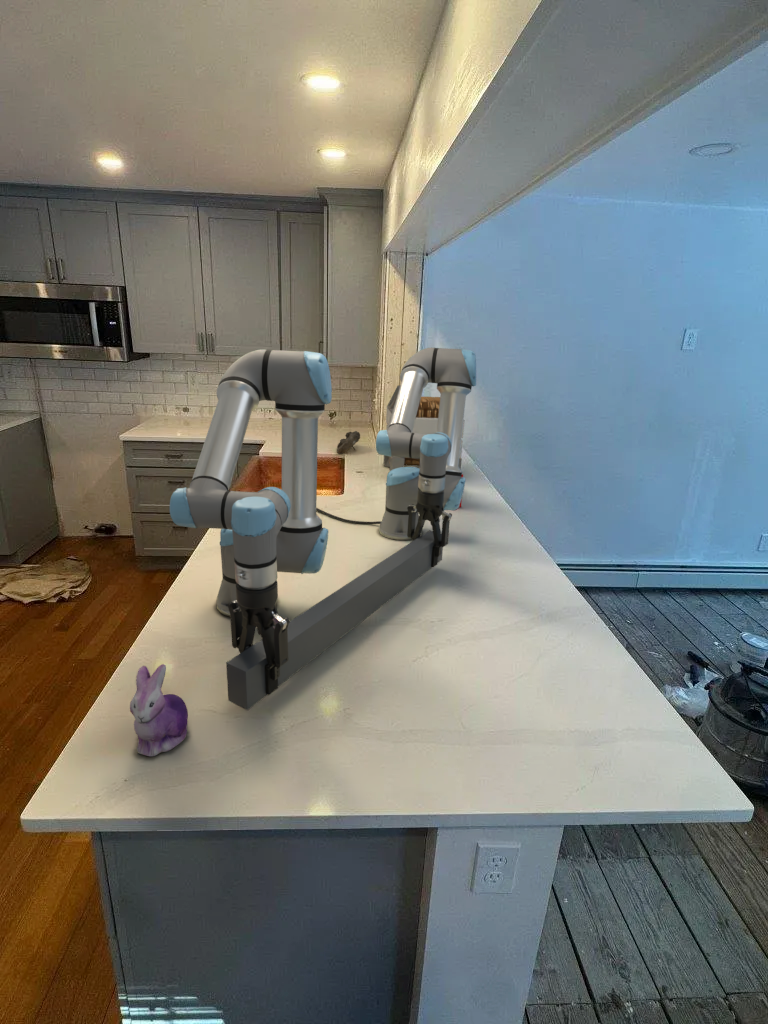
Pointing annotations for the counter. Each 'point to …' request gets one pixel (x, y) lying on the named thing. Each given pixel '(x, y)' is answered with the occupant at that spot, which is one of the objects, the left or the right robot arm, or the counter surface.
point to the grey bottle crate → (417, 427)
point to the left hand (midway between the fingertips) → (261, 685)
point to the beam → (330, 620)
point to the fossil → (348, 442)
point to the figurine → (157, 714)
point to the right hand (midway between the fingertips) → (425, 562)
